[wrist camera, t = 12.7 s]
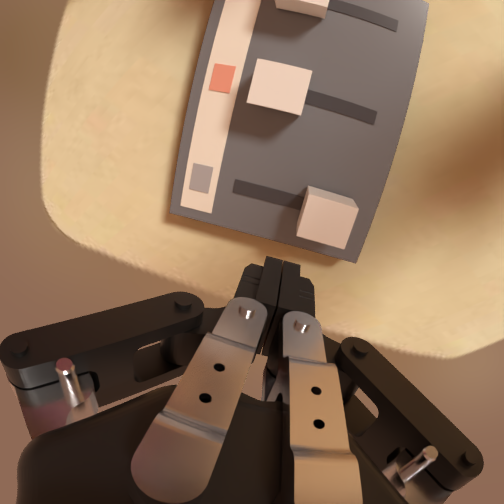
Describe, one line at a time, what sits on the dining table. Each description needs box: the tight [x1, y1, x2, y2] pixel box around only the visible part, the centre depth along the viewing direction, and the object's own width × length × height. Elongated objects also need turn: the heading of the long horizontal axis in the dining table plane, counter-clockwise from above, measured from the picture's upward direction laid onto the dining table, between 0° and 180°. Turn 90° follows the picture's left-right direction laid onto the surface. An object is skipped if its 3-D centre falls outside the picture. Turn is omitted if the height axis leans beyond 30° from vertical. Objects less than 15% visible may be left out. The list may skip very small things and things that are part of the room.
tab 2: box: [247, 58, 312, 116], centre depth 21 cm, size 4×4×3 cm
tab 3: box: [296, 186, 359, 249], centre depth 25 cm, size 4×4×3 cm
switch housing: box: [170, 0, 429, 263], centre depth 24 cm, size 18×26×3 cm
